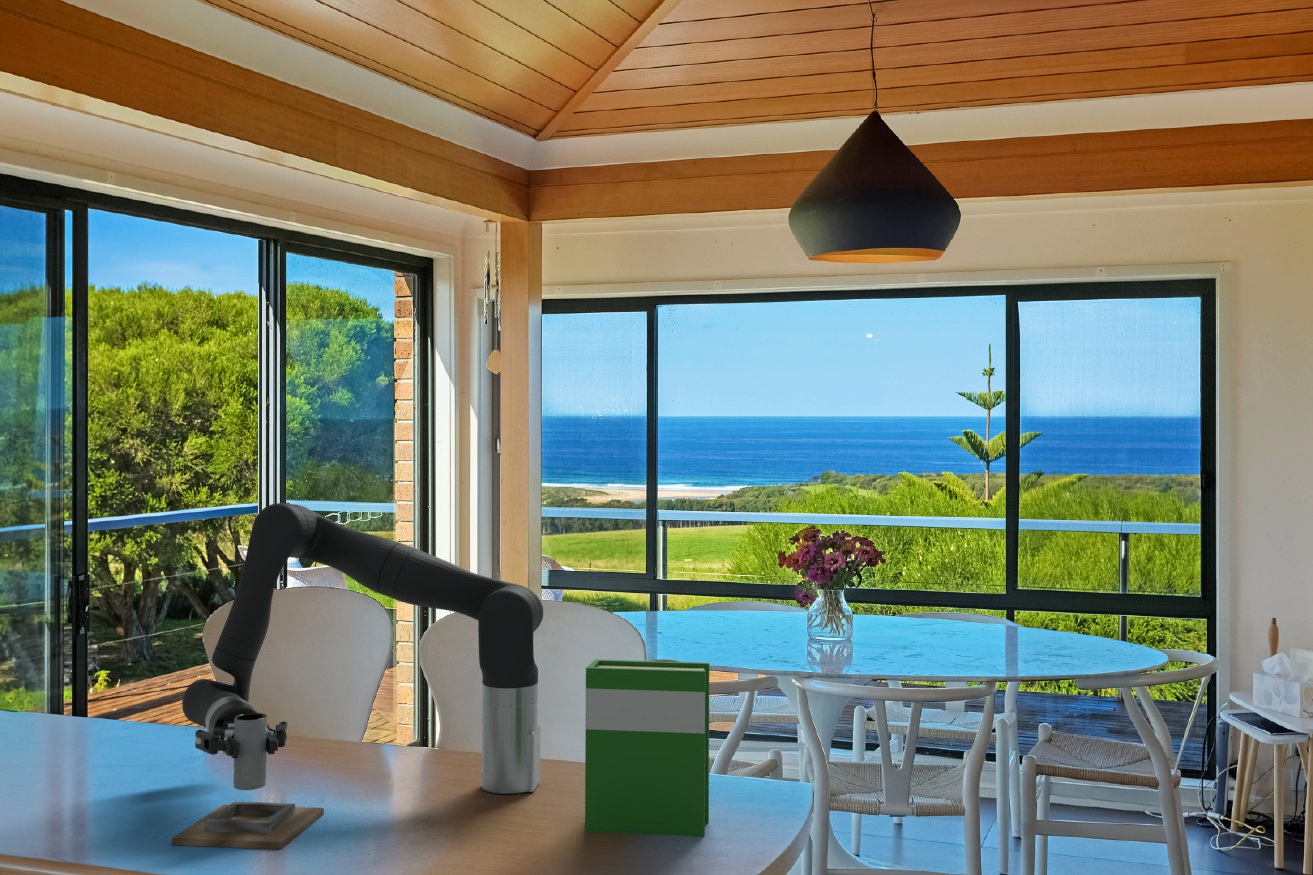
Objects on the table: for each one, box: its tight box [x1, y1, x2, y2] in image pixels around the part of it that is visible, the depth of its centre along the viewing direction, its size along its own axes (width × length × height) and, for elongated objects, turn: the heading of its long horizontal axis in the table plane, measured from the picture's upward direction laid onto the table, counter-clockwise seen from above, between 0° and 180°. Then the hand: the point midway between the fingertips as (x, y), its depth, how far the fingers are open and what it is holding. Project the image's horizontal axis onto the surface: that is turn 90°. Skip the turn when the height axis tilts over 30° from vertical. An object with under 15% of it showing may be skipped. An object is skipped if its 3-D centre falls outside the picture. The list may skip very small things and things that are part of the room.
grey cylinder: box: [233, 712, 268, 791], centre depth 175 cm, size 4×4×10 cm
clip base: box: [171, 801, 325, 850], centre depth 175 cm, size 16×16×2 cm
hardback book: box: [584, 659, 710, 838], centre depth 177 cm, size 18×7×24 cm, turn 83°
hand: (254, 749), depth 173 cm, fingers closed on grey cylinder, 4 cm apart
